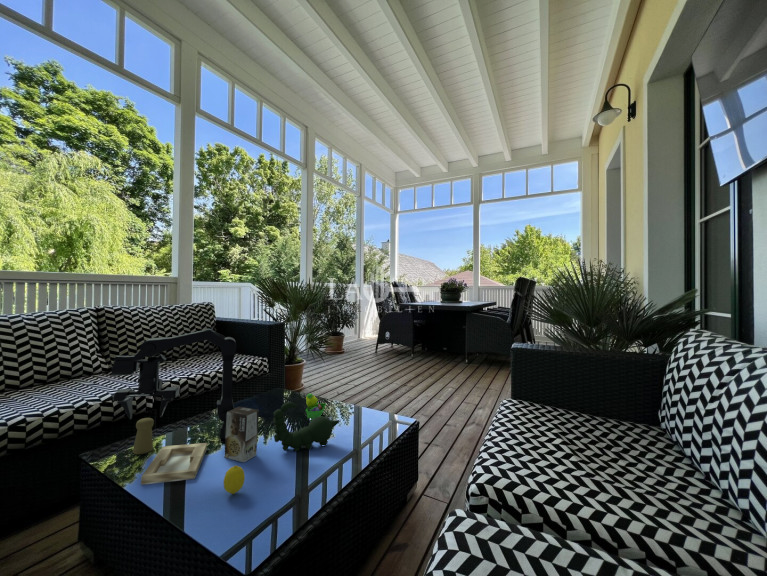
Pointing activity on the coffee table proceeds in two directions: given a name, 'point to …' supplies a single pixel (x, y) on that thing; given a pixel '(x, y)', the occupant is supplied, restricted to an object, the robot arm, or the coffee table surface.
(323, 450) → the coffee table surface
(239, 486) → the lemon
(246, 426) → the coffee box
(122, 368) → the robot arm
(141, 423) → the cork
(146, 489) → the coffee table surface
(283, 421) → the toy figurine
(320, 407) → the fruit basket
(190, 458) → the keyhole plate
